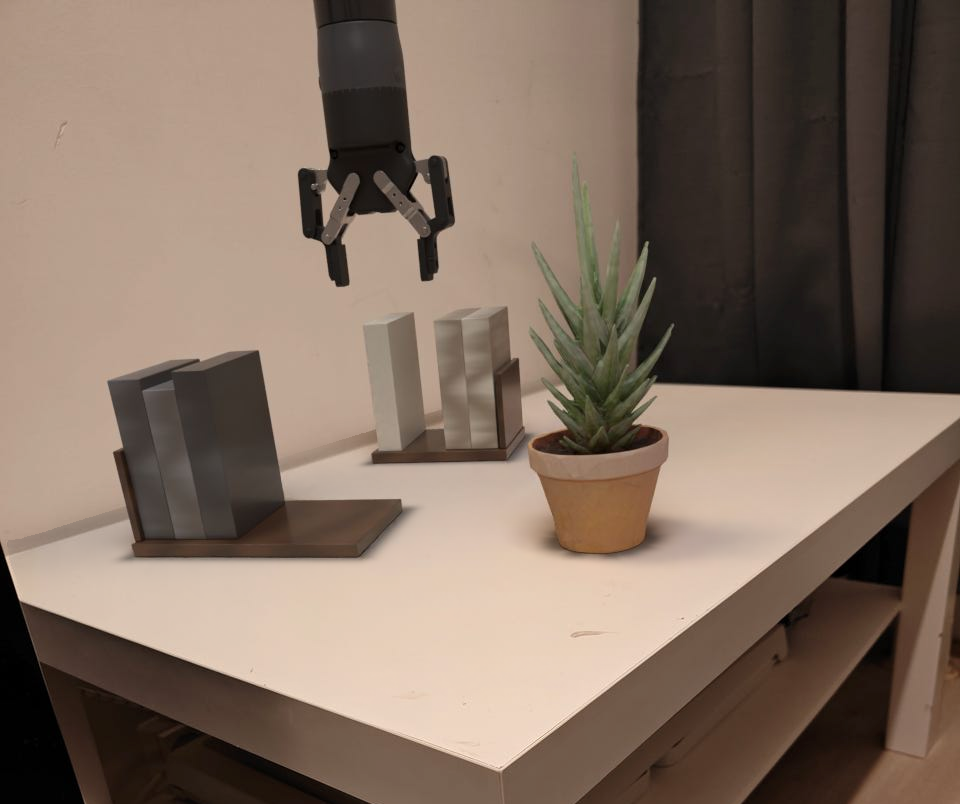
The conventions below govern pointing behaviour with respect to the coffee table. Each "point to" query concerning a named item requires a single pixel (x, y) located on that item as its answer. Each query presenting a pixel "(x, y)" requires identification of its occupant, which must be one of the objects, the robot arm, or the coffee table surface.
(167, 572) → the coffee table surface
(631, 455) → the potted plant
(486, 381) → the ivory shelf
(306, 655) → the coffee table surface
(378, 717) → the coffee table surface
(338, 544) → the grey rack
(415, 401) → the ivory book
